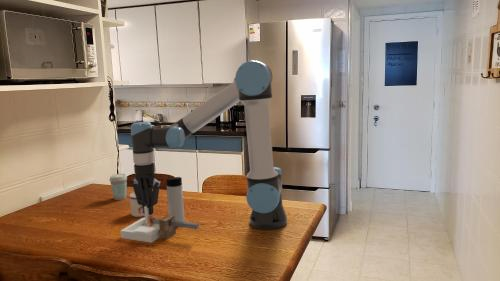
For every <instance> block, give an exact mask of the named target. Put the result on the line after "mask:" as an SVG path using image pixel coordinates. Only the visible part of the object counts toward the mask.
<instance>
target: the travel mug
mask: <svg viewBox="0 0 500 281" xmlns="http://www.w3.org/2000/svg"><path fill="white" fill-rule="evenodd" d="M182 180H183V179H182V177H180V176H177V177H168V178H166V180H165V182H166V195H167V208H168V210H167V211H168V215H174V219H175V221H183V222H186V220H185V209H184V207H185V206H184V194H183V192H184V191H183V181H182Z"/></svg>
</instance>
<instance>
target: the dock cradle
mask: <svg viewBox="0 0 500 281" xmlns="http://www.w3.org/2000/svg"><path fill="white" fill-rule="evenodd" d="M120 237H121V239H125V240H126V239H127V240H131V241H139V242H145V243H153V242H155V241H156V240H158V239H160V227H159V224H154V225H152V226H151V227H149V226H148V223H145V217H142V218H140V219H138V220H137V221H135V222H132V223H131V224H130V225H128V226H126V227H124V228H123V229H121V230H120Z"/></svg>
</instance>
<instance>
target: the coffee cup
mask: <svg viewBox="0 0 500 281" xmlns="http://www.w3.org/2000/svg"><path fill="white" fill-rule="evenodd" d="M127 180H128V176H127V174H125V173H116V174H112V175H110V177H109V181H110V186H111V192H112V194H113V199H114V200H115V201H122V200H125V199H127Z"/></svg>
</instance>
